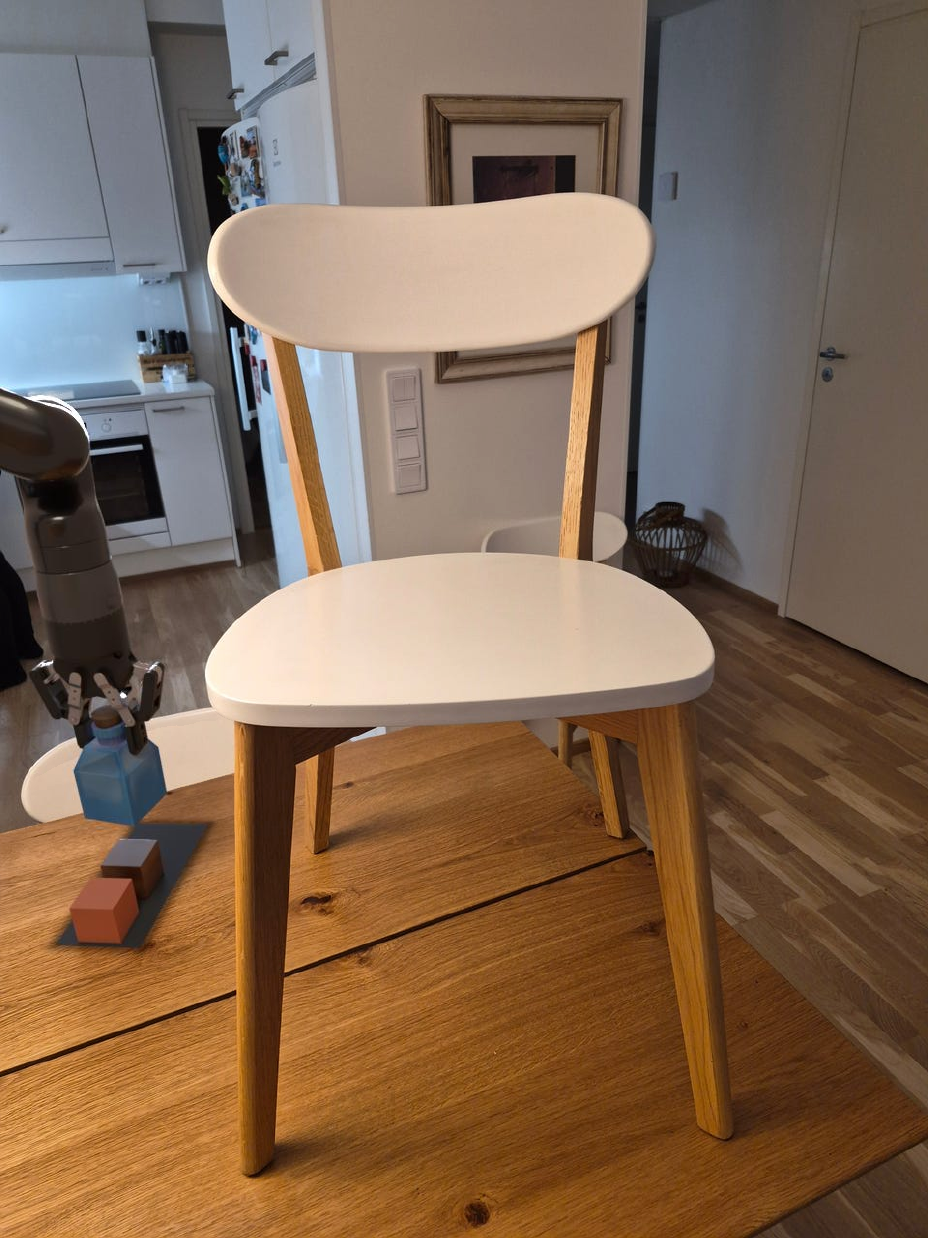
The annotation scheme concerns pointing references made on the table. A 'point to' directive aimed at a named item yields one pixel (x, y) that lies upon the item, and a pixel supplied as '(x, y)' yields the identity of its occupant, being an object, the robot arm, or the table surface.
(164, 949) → the table surface
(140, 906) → the mat
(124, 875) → the walnut block
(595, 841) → the table surface
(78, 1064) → the table surface
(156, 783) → the perfume bottle
